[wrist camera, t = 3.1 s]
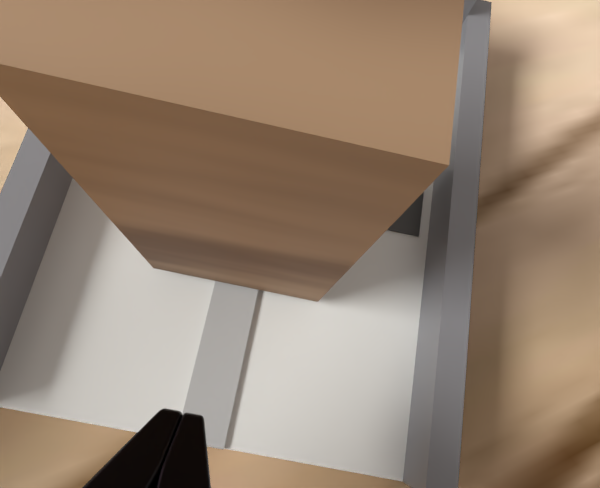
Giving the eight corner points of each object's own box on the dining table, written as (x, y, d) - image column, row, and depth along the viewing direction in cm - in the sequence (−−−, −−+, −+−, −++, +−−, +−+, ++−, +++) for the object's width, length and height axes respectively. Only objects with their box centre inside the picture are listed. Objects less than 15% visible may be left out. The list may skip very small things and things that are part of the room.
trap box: (420, 480, 16) (492, 524, 11) (-26, 397, 15) (-150, 407, 11) (459, 51, 22) (518, -39, 17) (138, -27, 21) (105, -144, 16)
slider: (317, 301, 16) (449, 165, 6) (153, 268, 16) (-36, 54, 5) (339, 178, 18) (475, -113, 7) (189, 145, 17) (98, -211, 7)
